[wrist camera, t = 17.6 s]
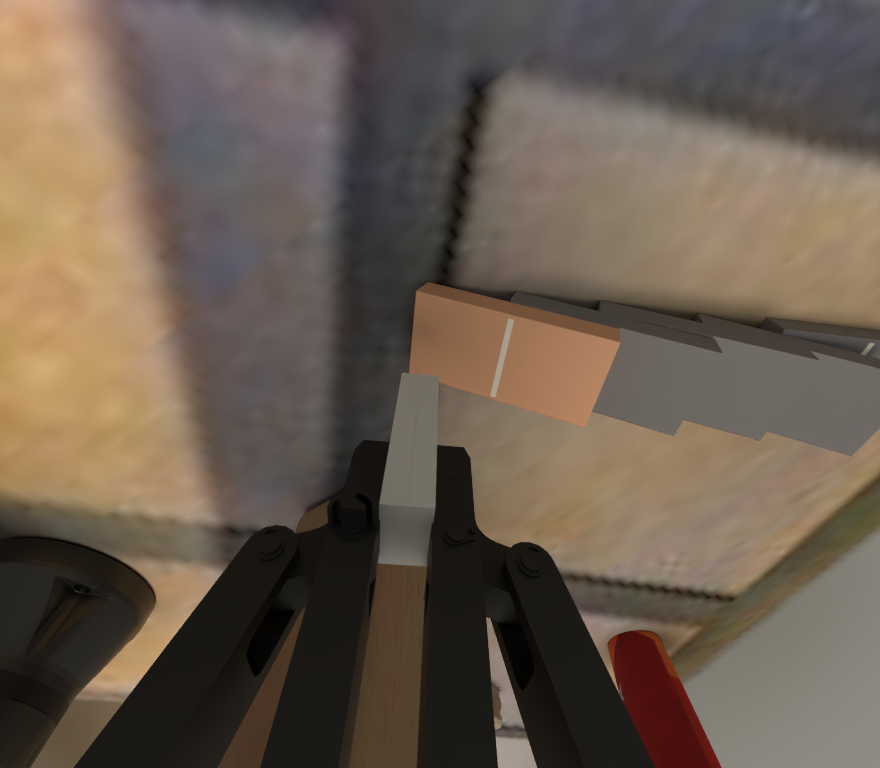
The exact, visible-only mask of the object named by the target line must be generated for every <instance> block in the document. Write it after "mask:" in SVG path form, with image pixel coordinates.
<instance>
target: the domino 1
mask: <svg viewBox="0 0 880 768" xmlns="http://www.w3.org/2000/svg"><path fill="white" fill-rule="evenodd" d="M510 302H512V303H516V304H520V305H524V306H528V307H532V308H536V309H540V310H544V311H548V312H553V313H557V314H561V315H565V316H569V317H573V318H577V319H581V320H585V321H589V322H593V323H597V324H601V325H606V326H610V327H614V328H618V329H620V338H621V343H620V345H619V348H618V350H617V353H616V355H615V357H614V360H613V362H612V364H611V367H610V369H609V372H608V374H607V376H606V379H605V381H604V384H603V386H602V388H601V391H600V393H599V396H598V398H597V400H596V403H595V405H594V408H593V410H592V412H596V413H599V414H602V415H606V416H609V417H612V418H616V419H619V420H622V421H625V422H629V423H632V424H635V425H639V426H642V427H645V428H649V429H652V430H655V431H659V432H662V433H665V434H669V435H672V436H674V435H675V433H676V431H677V430H678V428H679V426H680V425H681V423H682V421H683V420H684V418H685V416H686V415H687V413H688V411H689V410H690V408H691V406H692V405H693V403H694V401H695V400H696V398H697V396H698V395H699V393H700V391H701V390H702V388H703V386H704V385H705V383H706V381H707V380H708V378H709V376H710V375H711V373H712V371H713V370H714V368H715V366H716V365H717V363H718V361H719V360H720V358H721V356H722V355H723V352H722V351H721V349H720V347H719V345H718V343H717V341H716V340H715V339H711V338H707V337H703V336H699V335H695V334H691V333H686V332H682V331H678V330H674V329H670V328H666V327H662V326H658V325H654V324H649V323H645V322H641V321H637V320H633V319H629V318H625V317H621V316H617V315H612V314H608V313H604V312H600V311H596V310H592V309H588V308H584V307H580V306H575V305H571V304H567V303H563V302H559V301H555V300H551V299H547V298H543V297H538V296H534V295H530V294H526V293H522V292H518V291H516V292H515V293H514V295H513V297H512V298H511V300H510Z"/></svg>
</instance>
